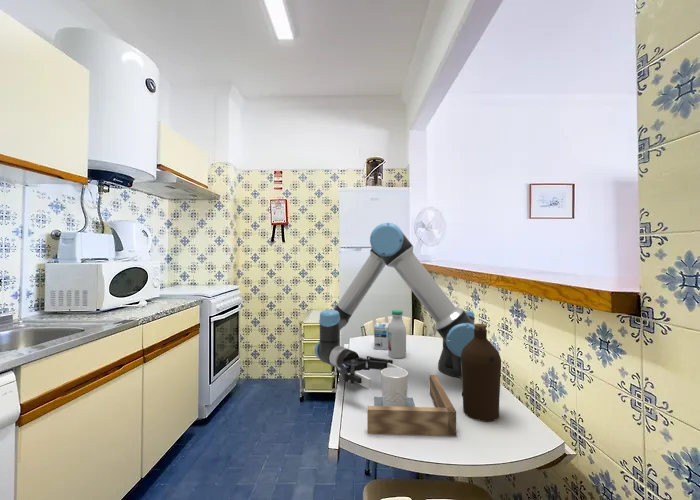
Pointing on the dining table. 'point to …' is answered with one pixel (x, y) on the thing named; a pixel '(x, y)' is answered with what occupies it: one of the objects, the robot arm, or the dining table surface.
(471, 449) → the dining table surface
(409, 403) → the slate mat
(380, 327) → the light bulb box
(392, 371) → the white cup
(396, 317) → the milk bottle
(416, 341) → the dining table surface
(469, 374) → the brown bottle
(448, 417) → the corner pen
